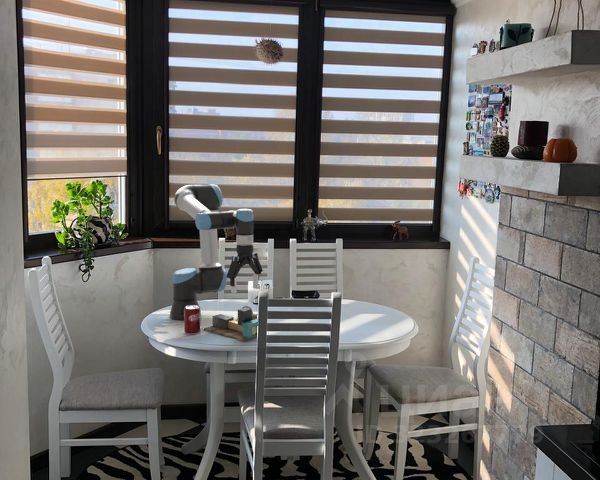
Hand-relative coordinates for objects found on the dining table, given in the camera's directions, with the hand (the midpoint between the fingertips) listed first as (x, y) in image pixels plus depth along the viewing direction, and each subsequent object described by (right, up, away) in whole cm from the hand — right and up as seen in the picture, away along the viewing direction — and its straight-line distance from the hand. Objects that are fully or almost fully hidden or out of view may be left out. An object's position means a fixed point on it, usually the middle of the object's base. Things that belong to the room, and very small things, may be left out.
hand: (245, 290), depth 335 cm
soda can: (-25, -20, +7) cm, 32 cm away
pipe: (+3, -17, +29) cm, 33 cm away
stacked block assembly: (-5, -19, +7) cm, 21 cm away
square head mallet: (-2, -18, +5) cm, 19 cm away
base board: (-5, -20, +7) cm, 22 cm away
